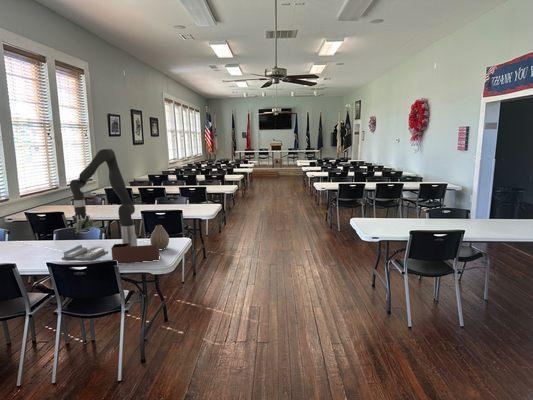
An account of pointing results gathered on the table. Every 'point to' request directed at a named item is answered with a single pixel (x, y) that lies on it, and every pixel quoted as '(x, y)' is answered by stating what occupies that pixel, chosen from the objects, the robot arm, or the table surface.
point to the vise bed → (82, 256)
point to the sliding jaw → (74, 251)
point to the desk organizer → (134, 253)
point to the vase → (159, 237)
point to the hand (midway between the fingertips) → (82, 228)
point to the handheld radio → (80, 226)
